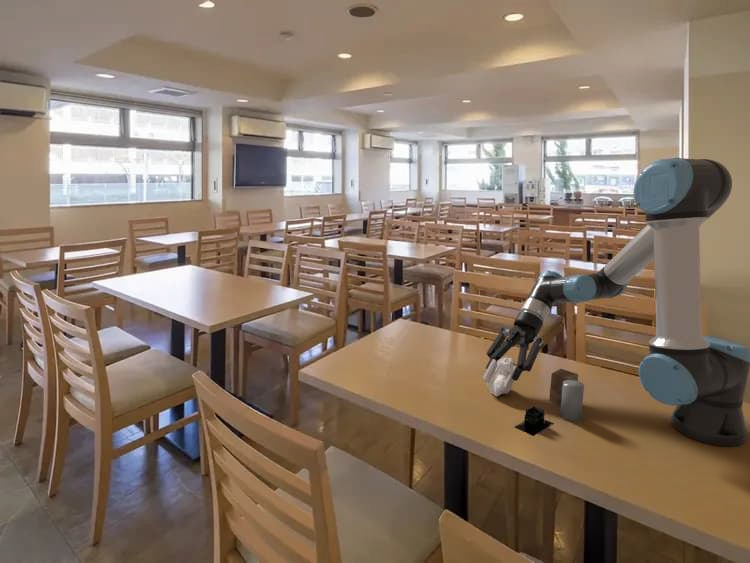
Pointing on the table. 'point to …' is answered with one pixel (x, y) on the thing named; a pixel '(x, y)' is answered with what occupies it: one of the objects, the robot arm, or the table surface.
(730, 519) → the table surface
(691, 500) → the table surface
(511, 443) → the table surface
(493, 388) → the bust
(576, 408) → the grey rounded cylinder
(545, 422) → the notched block on base
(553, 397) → the walnut block
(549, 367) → the table surface
